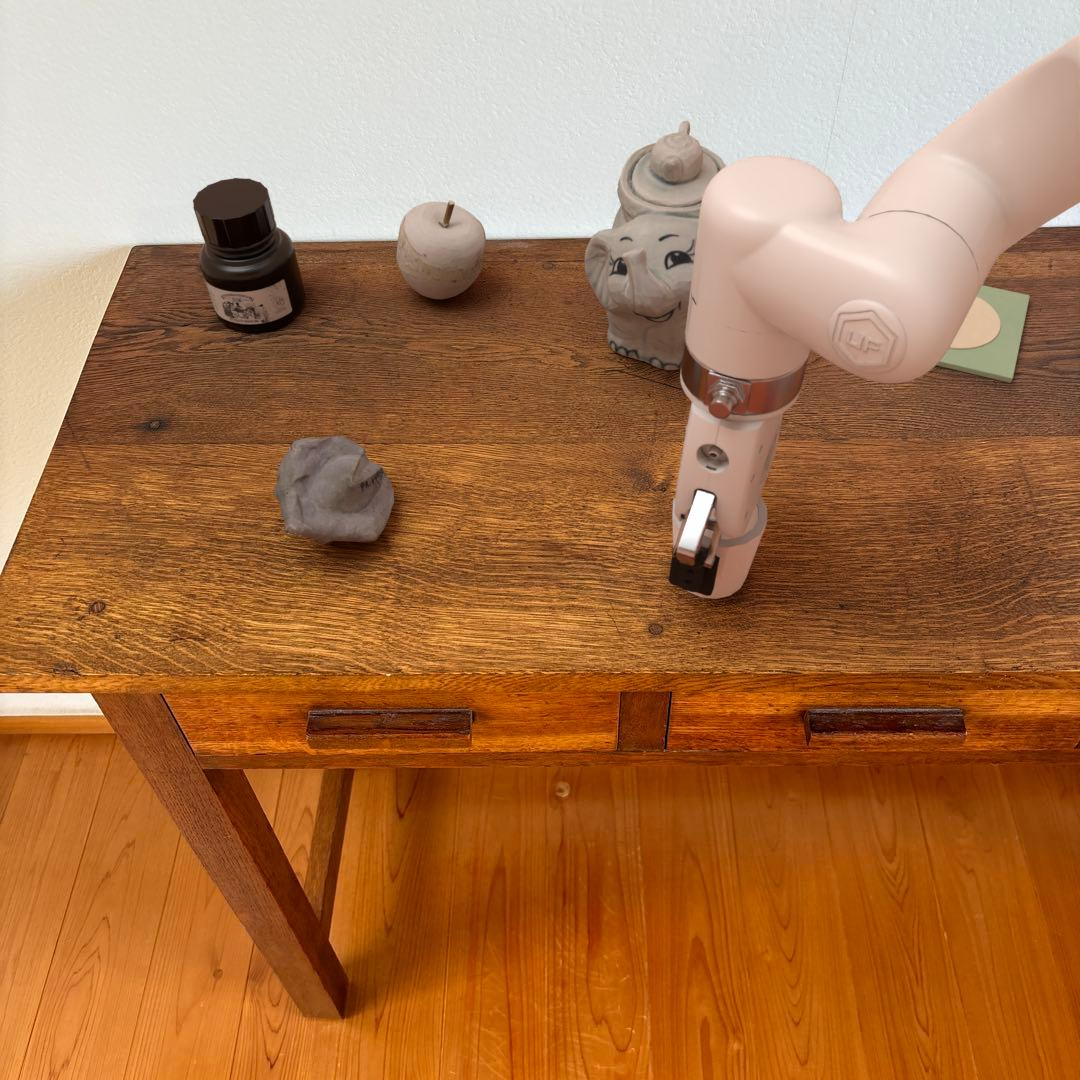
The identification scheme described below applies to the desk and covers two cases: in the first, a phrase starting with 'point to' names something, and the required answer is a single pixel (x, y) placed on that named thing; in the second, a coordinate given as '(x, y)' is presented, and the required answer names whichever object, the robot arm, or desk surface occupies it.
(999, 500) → the desk surface
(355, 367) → the desk surface
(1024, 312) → the mat
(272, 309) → the ink bottle
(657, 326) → the teapot
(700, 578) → the robot arm
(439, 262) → the decorative object
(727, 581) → the shot glass
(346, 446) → the fossil
